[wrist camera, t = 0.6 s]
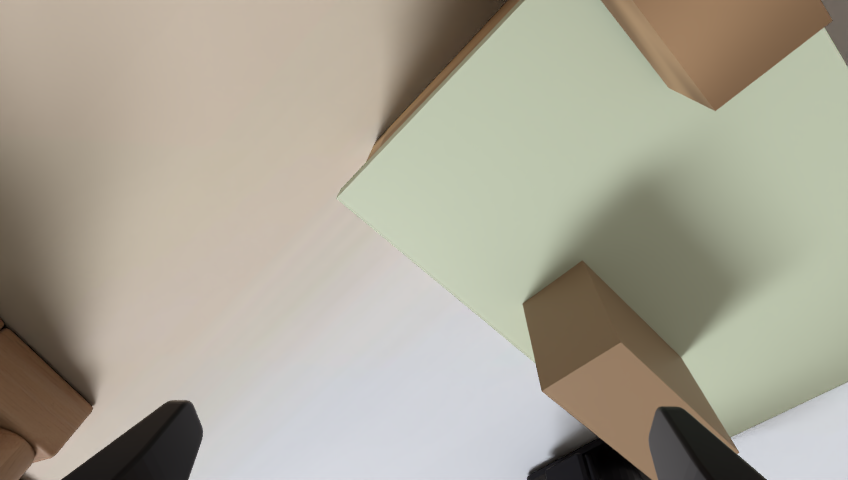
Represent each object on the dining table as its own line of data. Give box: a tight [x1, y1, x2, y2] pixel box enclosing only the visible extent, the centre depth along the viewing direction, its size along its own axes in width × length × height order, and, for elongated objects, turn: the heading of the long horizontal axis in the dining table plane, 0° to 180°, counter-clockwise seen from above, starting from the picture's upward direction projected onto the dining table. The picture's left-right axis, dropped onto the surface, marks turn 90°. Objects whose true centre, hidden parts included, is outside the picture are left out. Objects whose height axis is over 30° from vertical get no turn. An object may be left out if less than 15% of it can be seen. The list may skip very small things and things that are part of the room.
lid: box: [336, 0, 848, 480], centre depth 14 cm, size 19×13×5 cm
